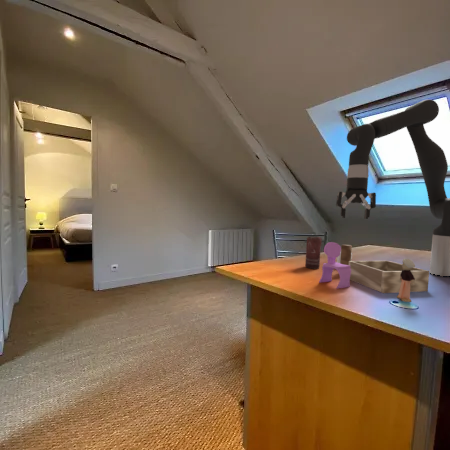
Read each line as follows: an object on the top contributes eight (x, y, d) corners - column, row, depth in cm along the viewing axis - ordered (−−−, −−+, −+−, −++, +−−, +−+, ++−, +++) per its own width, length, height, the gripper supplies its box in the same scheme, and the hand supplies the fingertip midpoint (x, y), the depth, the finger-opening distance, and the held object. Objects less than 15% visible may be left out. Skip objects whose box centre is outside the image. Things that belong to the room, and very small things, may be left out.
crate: (386, 277, 115) (388, 260, 114) (427, 291, 97) (429, 271, 97) (347, 278, 111) (348, 261, 110) (382, 293, 93) (384, 272, 93)
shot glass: (350, 266, 135) (351, 251, 134) (352, 269, 128) (353, 254, 128) (335, 265, 137) (336, 250, 137) (335, 267, 131) (336, 252, 130)
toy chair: (336, 289, 96) (339, 245, 95) (316, 282, 103) (319, 241, 102) (352, 286, 99) (355, 244, 98) (332, 280, 107) (335, 241, 106)
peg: (345, 272, 122) (347, 244, 121) (352, 274, 118) (353, 246, 117) (337, 272, 121) (339, 244, 120) (343, 274, 117) (345, 246, 116)
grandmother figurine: (390, 295, 90) (393, 256, 89) (401, 296, 91) (404, 256, 90) (407, 304, 83) (411, 261, 82) (420, 304, 83) (423, 261, 82)
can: (320, 269, 126) (322, 238, 125) (305, 268, 127) (307, 237, 126) (319, 266, 132) (320, 236, 131) (304, 265, 133) (306, 235, 132)
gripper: (373, 178, 115) (370, 218, 116) (336, 177, 117) (333, 217, 118) (380, 176, 108) (377, 219, 109) (341, 175, 110) (338, 217, 111)
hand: (354, 218), depth 113 cm, fingers open, 8 cm apart
